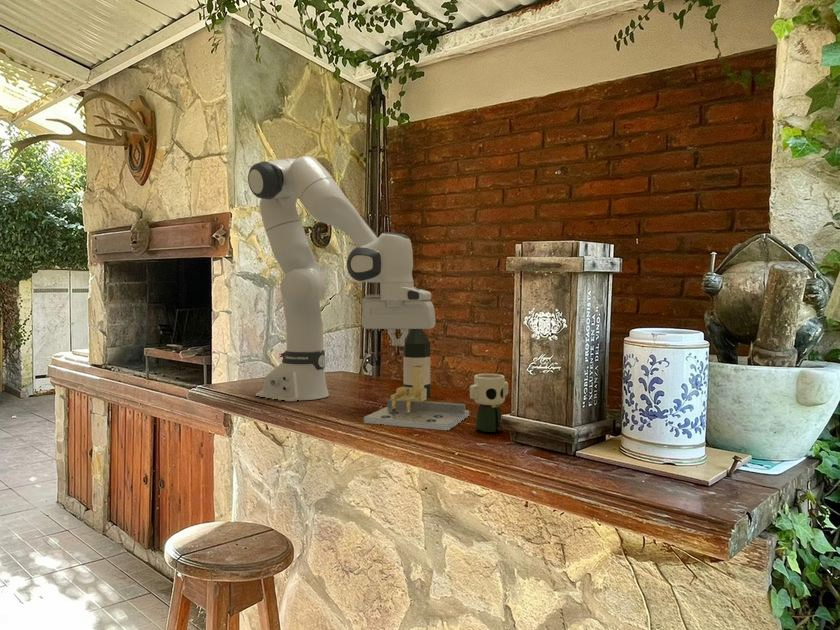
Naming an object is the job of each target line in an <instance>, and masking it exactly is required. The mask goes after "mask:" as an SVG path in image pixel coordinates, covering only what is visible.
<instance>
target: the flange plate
mask: <svg viewBox="0 0 840 630" xmlns="http://www.w3.org/2000/svg"><path fill="white" fill-rule="evenodd" d="M411 389H413V387H404V386H400V387H397V388H396V392H395V393H393V394H391V395H390V398H389V399H387V406H385V407H384V408H380V409H379V410H376V411H374V412H372V413H370V414H368V415H366V416H364V417H363V423H364V424H370V425H380V424H382V426H394V427H404V428H414V429H415V428H416V429H425V430H427V429H428V430H438V431H447V430H448V431H450V430H451V428H452V429H453V428H454V427H456V426H457V425H459V424H460V423H462V422H463V421H465V420H466V419H467V418H469V417H470V410H467V409H466V404H465V403H456V402H454V403H453V402H440V401H430V400H429V401H428V400H424V401H422V402H413V401H410V413H407V412H406V400H405V396H407V395H410V390H411ZM468 416H469V417H468ZM465 418H466V419H465ZM464 419H465V420H464ZM462 420H463V421H462ZM461 421H462V422H461ZM458 423H459V424H458ZM383 424H384V425H383Z"/></svg>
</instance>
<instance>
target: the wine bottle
mask: <svg viewBox="0 0 840 630" xmlns="http://www.w3.org/2000/svg"><path fill="white" fill-rule="evenodd" d="M409 330H410V331H408V334H407V336H406V338H405V345H404V346H402V347H403V355H402V356H403V364H402V365H403V372H402V373H403V375H402V377H403V387H413V367H414V366H417V365H418V366H424V388H427V399H429V398H431V342H430V340H429V338H428V337H427V335H426V333H425V331H424V329H409Z"/></svg>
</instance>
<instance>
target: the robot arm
mask: <svg viewBox="0 0 840 630" xmlns="http://www.w3.org/2000/svg"><path fill="white" fill-rule="evenodd" d="M247 183H248V186H249V189H250V191H251V192H252V194H253V195H254V196H255V197H256V198H258V199H260V201H259V209H260V214H261V220H262V224H263V228H264V231H265V233H266V237H267V239H268V242H269V244H270V248H271V250H272V254H273V257H274V258H275V260H276V262H277V263H278V265H279V266H280V269H281V271H282V273H283V274H284V277H282V279H281V282H280V288H279V289H280V294H281V297H282V305H283V306H282V307H283V311H284V313H283V314H284V317H285V325H286V329H285V330H286V351H283V352H282V353H279V354H278V355H279V357H278V358H282V359H281V363H280V364H278V366H276V367H275V368H274V369H273V370H271V371H270V372H269V373H268V374H266V376H265V377H264V381H263V387H262V390H259V391H258V392H257V391H256V393H255V395H256V396H260V397H266V398H265V399H267V398H272V399H271V400H274V399H278V400H277V401H281V400H285V401H284V402H297V400H299V401H310V400H318V399H324V398H327V397H329V396H330V393H329V390H328V387H327V386H328V385H327V382H326V381H327V380H326V375H325V374H326V373H325V366H326V353H325V352H326V350H325V349H324V323H323V318H322V313H321V305H320V304H321V301H322V300H323V298H324V296H325V295H326V293H327V283H326V280H325V278H324V275H323V273H322V270H321V269H320V268H321V267H320V266H319V263H318V262H317V259H316V257H315V254H314V253H313V251H312V249H311V246H310V243H309V241H308V237H307V234H306V232H305V228H304V226H303V223H302V220H301V217H300V215H299V212H298V210H297V200H298V199H299V201H300V202H301V203H302V205H303V207H304V208H305V209H306V211H307V212H308V213H309V214H310V215H311V216H312V217H313V218H314V219H315V220H316V221H318V222H321V223H323V224H326V225H329V226H332V227H333V228H337V229H338V230H340V231H342V232H343V233H345V234H346V235H347V236H349V238H350V239H351V240H352V241H353V243H354V244H355V245H356V246H357V247H355V248H354V249H352V250H351V251H350V252H349V254H348V256H347V259H346V260H347V261H346V269H347V272H348V274H349V276H350V277H351V278H352V279H354V280H355V281H358V282H361V283H377V284H378V283H379V286H380V292H379V293H376V294H366V296H364V297H363V298H362V300H361V307H362V311H361V326H362V328H363V329H365V330H372V329H373V330H382V329H383V330H387V334H388V336H389V338H390V339H391V346H392V347H403V346H404V345H405V339H406V337H407V335H408V334H409V330H411V329H422V330H430V329H434V327H435V326H436V311H435V307H434V304H433V302H432V301H430V300H432V293H431V292H430V291H429V290H426V289H422V288H418V287H415V286H414V285H415V284H414V278H413V269H414V254H413V247H412V246H413V244H412V242H411V239H410V237H409V236H408V235H406V234H403V233H396V232H388V231H387V232H382V233H381V234H380V235H379V236H378V235H377V233H376V232H375V231H374V230H373V229H372V227H371V226H370V225H369V224H368V223H367V221H366V220H365V219H364V217H363V216H362V215H361V214H360V213H359V212H358V211H357V209H356V208H355V207H354V205H353V204H352V203H351V201H350V200H349V199H348V198H347V196H346V195H345V193H344V192H343V190H342V189H341V188H340V186H339V185H338V184H337V182H336V181H335V179H334V178H333V177H332V175H331V174H330V172H329V171H328V170H327V169H326V168H325V167H324V166H323V164H321V162H319V161H318V160H317V159H316V158H314V157H313V156H311V155H310V156H309V155H303V156H300V157H298V158H279V159H275V160H270V161H265V160H264V161H263V160H262V161H259V162H257V163H254V164H252V166H250V169H249V171H248V176H247ZM396 330H400V334H401V336H400V338H397V337H396V334H395V333H396V332H397V331H396ZM260 397H259V398H260Z"/></svg>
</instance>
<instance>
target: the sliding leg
mask: <svg viewBox="0 0 840 630" xmlns="http://www.w3.org/2000/svg"><path fill="white" fill-rule="evenodd" d="M427 399H428V398H427V388H424V366H418V365H417V366H414V367H413V389H411V390H410V395H407V396H405V400H406V412H407V413H410V401H413V402H422V401H427Z"/></svg>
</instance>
